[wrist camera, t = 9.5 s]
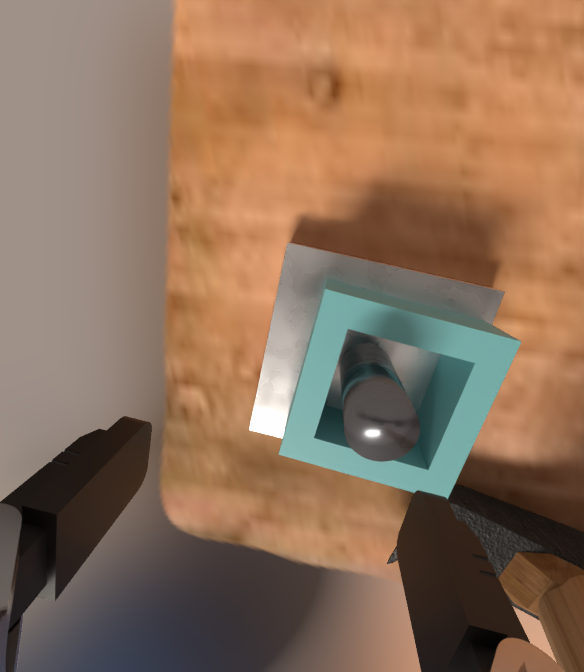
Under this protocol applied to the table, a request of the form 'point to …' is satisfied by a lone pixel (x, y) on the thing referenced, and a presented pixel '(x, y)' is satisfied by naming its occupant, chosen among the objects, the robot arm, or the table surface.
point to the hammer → (532, 567)
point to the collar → (438, 403)
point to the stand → (358, 349)
